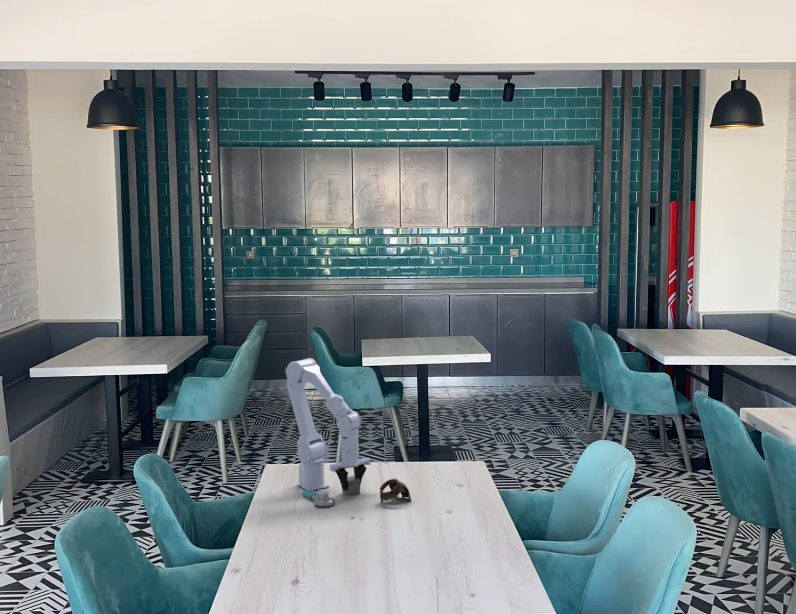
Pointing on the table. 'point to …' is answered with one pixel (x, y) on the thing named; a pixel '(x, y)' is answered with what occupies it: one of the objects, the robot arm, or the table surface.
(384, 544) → the table surface
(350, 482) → the socket
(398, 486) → the brown openwork dome
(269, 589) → the table surface
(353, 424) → the robot arm
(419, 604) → the table surface
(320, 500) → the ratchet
